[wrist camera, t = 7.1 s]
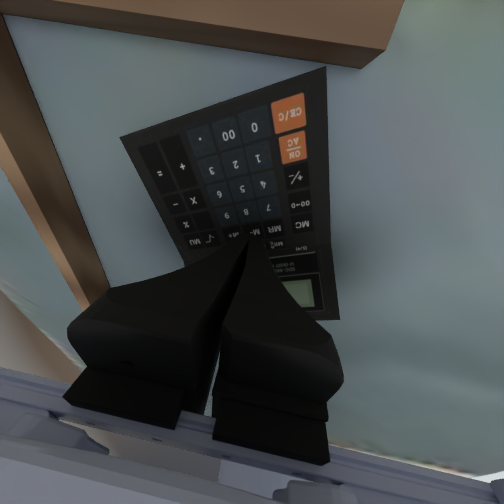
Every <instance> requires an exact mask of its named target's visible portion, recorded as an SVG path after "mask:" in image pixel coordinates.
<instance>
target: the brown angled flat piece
mask: <svg viewBox="0 0 504 504" xmlns="http://www.w3.org/2000/svg"><path fill="white" fill-rule="evenodd" d="M404 1H405V0H0V166H1V168H2V170H3V171H4V173H5V175H6V177H7V178H8V180H9V182H10V184H11V185H12V187H13V189H14V191H15V192H16V194H17V196H18V198H19V199H20V201H21V203H22V205H23V207H24V208H25V210H26V212H27V214H28V215H29V217H30V219H31V221H32V222H33V224H34V226H35V228H36V229H37V231H38V233H39V235H40V236H41V238H42V240H43V242H44V243H45V245H46V247H47V249H48V251H49V252H50V254H51V256H52V258H53V259H54V261H55V263H56V265H57V266H58V268H59V270H60V272H61V273H62V275H63V277H64V279H65V280H66V282H67V284H68V286H69V287H70V289H71V291H72V293H73V295H74V296H75V298H76V300H77V302H78V303H79V305H80V307H81V309H82V310H83V311H84V310H86V309H87V308H88V307H89V306H90V305H91V304H92V303H93V302H94V301H96V300H97V299H98V298H99V297H100V296H101V295H102V294H103V293H104V292H105V291H107V290H108V289H109V288H110V286H109V284H108V281H107V279H106V276H105V273H104V271H103V268H102V266H101V263H100V261H99V258H98V256H97V253H96V251H95V248H94V246H93V243H92V241H91V238H90V236H89V233H88V231H87V228H86V226H85V223H84V221H83V218H82V216H81V213H80V211H79V208H78V206H77V203H76V201H75V198H74V196H73V193H72V191H71V188H70V186H69V183H68V181H67V178H66V176H65V173H64V171H63V168H62V166H61V163H60V161H59V158H58V156H57V153H56V150H55V148H54V145H53V143H52V140H51V138H50V135H49V133H48V130H47V128H46V125H45V123H44V120H43V118H42V115H41V113H40V110H39V108H38V105H37V103H36V100H35V98H34V95H33V93H32V90H31V88H30V85H29V83H28V80H27V78H26V75H25V73H24V70H23V68H22V65H21V63H20V60H19V58H18V55H17V53H16V50H15V48H14V45H13V43H12V40H11V38H10V35H9V33H8V30H7V28H6V25H5V22H4V20H3V17H2V15H1V13H3V14H9V15H16V16H22V17H29V18H35V19H42V20H48V21H55V22H61V23H68V24H74V25H81V26H87V27H94V28H100V29H107V30H113V31H120V32H126V33H133V34H139V35H146V36H152V37H159V38H165V39H172V40H178V41H185V42H191V43H198V44H204V45H210V46H217V47H223V48H230V49H236V50H243V51H249V52H256V53H262V54H269V55H275V56H282V57H288V58H295V59H301V60H308V61H314V62H321V63H327V64H334V65H340V66H347V67H353V68H360V69H362V68H363V67H365V66H366V65H367V64H368V63H370V62H371V61H372V60H374V59H375V58H376V57H377V56H379V55H380V54H381V53H383V52H384V51H385V50H386V48H387V45H388V43H389V40H390V38H391V35H392V32H393V30H394V27H395V24H396V22H397V19H398V16H399V14H400V11H401V8H402V6H403V3H404Z"/></svg>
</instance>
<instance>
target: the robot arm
mask: <svg viewBox="0 0 504 504" xmlns="http://www.w3.org/2000/svg"><path fill="white" fill-rule="evenodd" d="M67 336H68V340H69V341H70V343H71V345H72V346H73V348H74V349H75V351H76V352H77V353H78V355H79V356H80V357H81V359H82V360H83V361H84V363H85V364H86V365H87V367H86V368H85V370H84V371H83V372H82V373H81V375H80V376H79V377H78V378H77V380H75V382H74V383H73V384H69V383H65V382H61V381H57V380H53V379H48V378H44V377H40V376H36V375H32V374H27V373H23V372H19V371H15V370H10V369H6V368H1V367H0V504H504V479H499V480H494V481H491V483H487V482H483V481H478V480H474V479H470V478H466V477H462V476H457V475H453V474H449V473H445V472H441V471H436V470H432V469H428V468H424V467H419V466H415V465H411V464H407V463H403V462H398V461H394V460H390V459H386V458H381V457H377V456H373V455H369V454H365V453H360V452H356V451H352V450H348V449H344V448H339V447H335V446H331V445H328V439H327V432H326V425H325V422H327V421H328V417H329V416H328V410H327V403H326V402H327V401H328V400H329V399H330V398H331V397H332V396H333V395H334V394H335V393H336V392H337V391H338V390H339V389H340V387H341V385H342V384H343V382H344V374H343V370H342V366H341V362H340V358H339V355H338V352H337V349H336V347H335V344H334V341H333V339H332V336H331V335H330V334H329V333H328V332H327V331H326V330H325V329H324V328H323V327H322V326H320V325H319V324H318V323H317V322H316V321H315V320H314V319H313V318H312V317H311V316H310V315H309V314H308V313H307V312H306V311H305V310H304V309H303V308H302V307H301V306H300V305H299V304H298V303H297V302H296V300H295V299H294V298H293V297H292V296H291V294H290V293H289V292H288V291H287V289H286V288H285V286H284V285H283V283H282V282H281V280H280V279H279V277H278V275H277V274H276V272H275V270H274V268H273V266H272V264H271V261H270V259H269V256H268V254H267V251H266V248H265V244H264V238H263V237H260V236H255V235H250V234H245V233H239V234H238V235H236V236H235V237H234V238H233V239H232V240H230V241H229V242H228V243H226V244H225V245H224V246H222V247H221V248H220V249H218V250H217V251H215V252H213V253H212V254H210V255H209V256H207V257H205V258H203V259H202V260H200V261H197V262H195V263H193V264H191V265H189V266H186V267H184V268H181V269H179V270H176V271H174V272H171V273H168V274H165V275H162V276H158V277H155V278H151V279H148V280H144V281H140V282H135V283H131V284H127V285H122V286H118V287H113V288H109V289H108V290H107V291H105V292H104V293H103V294H102V295H101V296H100V297H99V298H98V299H97V300H96V301H94V302H93V303H92V304H91V305H90V306H89V307H88V308H87V309H86V310H84V311H83V312H82V313H81V314H80V315H79V316H78V317H77V318H76V319H75V320H73V321H72V322H71V323H70V325H69V326H68V327H67ZM219 352H220V358H219V368H218V372H217V376H216V379H215V383H214V386H213V390H212V396H213V401H212V417H209V416H204V411H205V407H206V403H207V399H208V395H209V391H210V387H211V383H212V379H213V375H214V371H215V367H216V364H217V360H218V356H219ZM59 419H61V420H65V421H69V422H73V423H77V424H81V425H85V426H89V427H93V428H98V429H101V430H106V431H110V432H114V433H118V434H122V435H126V436H130V437H134V438H138V439H142V440H146V441H150V442H154V443H158V444H162V445H166V446H170V447H174V448H179V449H183V450H187V451H191V452H195V453H199V454H203V455H207V456H211V457H215V458H219V459H222V463H221V468H220V473H219V479H218V483H216V482H213V481H209V480H205V479H202V478H198V477H195V476H191V475H187V474H183V473H180V472H176V471H172V470H168V469H164V468H160V467H156V466H152V465H148V464H144V463H141V462H137V461H132V460H128V459H123V458H119V457H115V456H111V455H109V449H108V448H106V447H104V446H103V445H101V444H99V443H97V442H96V441H94V440H93V439H91V438H90V437H89V436H88V435H87V433H86V432H85V430H83V429H80V428H77V427H75V426H72V425H69V424H66V423H63V422H61V421H59ZM308 480H309V481H313V482H308ZM316 482H317V483H316Z"/></svg>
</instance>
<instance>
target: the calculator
mask: <svg viewBox="0 0 504 504" xmlns="http://www.w3.org/2000/svg"><path fill="white" fill-rule="evenodd" d="M120 139H121V141H122V143H123V145H124V147H125V149H126V151H127V153H128V155H129V157H130V159H131V161H132V162H133V164H134V166H135V168H136V170H137V172H138V174H139V176H140V178H141V180H142V182H143V184H144V186H145V188H146V189H147V191H148V193H149V195H150V197H151V199H152V201H153V203H154V205H155V207H156V209H157V211H158V213H159V214H160V216H161V218H162V220H163V222H164V224H165V226H166V228H167V230H168V232H169V234H170V236H171V238H172V239H173V241H174V243H175V245H176V247H177V249H178V251H179V253H180V255H181V257H182V259H183V261H184V265H185V267H186V266H189V265H191V264H193V263H195V262H197V261H200V260H202V259H203V258H205V257H207V256H209V255H210V254H212V253H213V252H215V251H217V250H218V249H220V248H221V247H222V246H224V245H225V244H226V243H228V242H229V241H230V240H232V239H233V238H234V237H235V236H236V235H238V234H239V233H245V234H250V235H255V236H260V237H263V238H264V244H265V248H266V251H267V254H268V256H269V259H270V261H271V264H272V266H273V268H274V270H275V272H276V274H277V275H278V277H279V279H280V280H281V282H282V283H283V285H284V286H285V288H286V289H287V291H288V292H289V293H290V294H291V296H292V297H293V298H294V299H295V300H296V302H297V303H298V304H299V305H300V306H301V307H302V308H303V309H304V310H305V311H306V312H307V313H308V314H309V315H310V316H311V317H312V318H313V319H314V320H340V315H339V307H338V298H337V290H336V282H335V274H334V265H333V257H332V249H331V232H330V193H329V155H328V116H327V77H326V66H324V67H322V68H319V69H316V70H313V71H310V72H307V73H304V74H301V75H298V76H295V77H293V78H290V79H287V80H284V81H281V82H278V83H275V84H272V85H269V86H267V87H264V88H261V89H258V90H255V91H252V92H249V93H246V94H243V95H240V96H238V97H235V98H232V99H229V100H226V101H223V102H220V103H217V104H214V105H212V106H209V107H206V108H203V109H200V110H197V111H194V112H191V113H188V114H185V115H183V116H180V117H177V118H174V119H171V120H168V121H165V122H162V123H159V124H156V125H154V126H151V127H148V128H145V129H142V130H139V131H136V132H133V133H130V134H128V135H125V136H122V137H120Z"/></svg>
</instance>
